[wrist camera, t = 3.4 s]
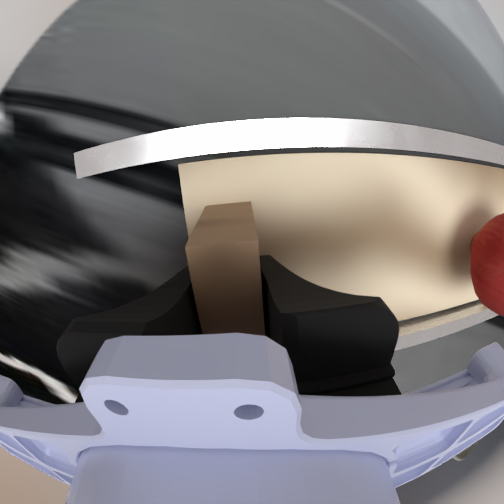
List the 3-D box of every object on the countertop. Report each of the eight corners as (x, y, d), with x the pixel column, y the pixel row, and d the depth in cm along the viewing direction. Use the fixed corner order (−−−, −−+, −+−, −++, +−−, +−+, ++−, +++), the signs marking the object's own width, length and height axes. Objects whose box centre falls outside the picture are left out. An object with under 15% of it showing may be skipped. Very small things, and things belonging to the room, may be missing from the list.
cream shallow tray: (488, 291, 16) (528, 327, 11) (210, 340, 15) (202, 416, 10) (510, 170, 12) (564, 188, 7) (180, 163, 12) (137, 179, 7)
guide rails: (500, 300, 16) (510, 309, 15) (146, 359, 16) (140, 376, 14) (526, 155, 11) (540, 159, 10) (90, 150, 11) (73, 153, 10)
